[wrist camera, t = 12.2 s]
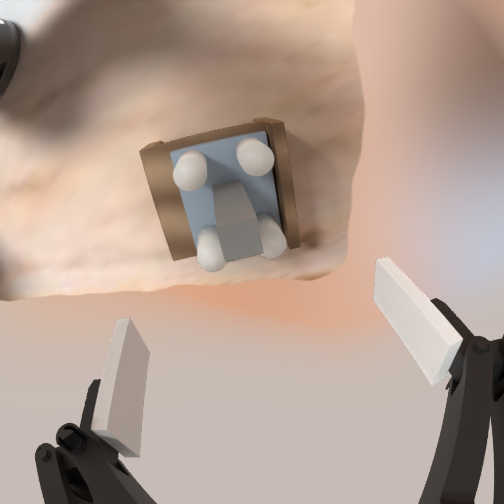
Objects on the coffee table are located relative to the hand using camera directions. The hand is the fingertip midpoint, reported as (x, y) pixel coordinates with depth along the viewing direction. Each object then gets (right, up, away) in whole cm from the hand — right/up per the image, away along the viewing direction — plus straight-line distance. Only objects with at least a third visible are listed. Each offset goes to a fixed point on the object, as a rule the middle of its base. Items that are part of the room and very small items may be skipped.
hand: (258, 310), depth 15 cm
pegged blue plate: (-3, +10, +18) cm, 21 cm away
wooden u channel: (-5, +12, +23) cm, 27 cm away
